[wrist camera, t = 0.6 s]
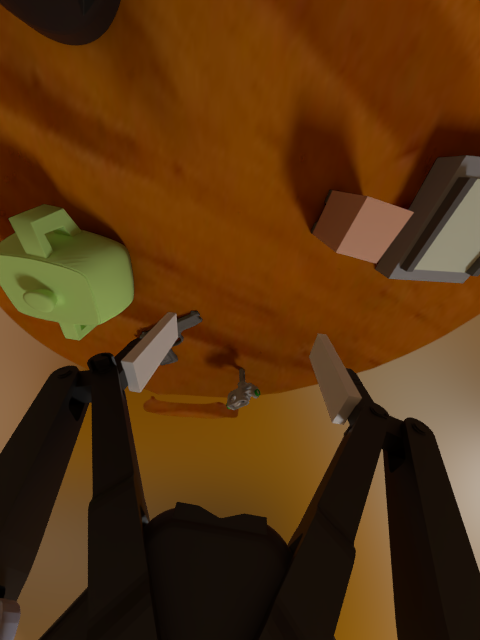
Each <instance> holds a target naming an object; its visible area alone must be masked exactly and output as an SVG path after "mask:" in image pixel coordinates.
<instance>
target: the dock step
mask: <svg viewBox="0 0 480 640" xmlns="http://www.w3.org/2000/svg"><path fill="white" fill-rule="evenodd" d="M409 211H412V212H414V213H413V214H412V216H411V217H410V219H409V220H408V221H407V223H406V224H405V225H404V227H403V228H402V229H401V231H400V232H399V233H398V235H397V236H396V238H395V239H394V240H393V242H392V243H391V244H390V246H389V247H388V248H387V250H386V251H385V253H384V254H383V256H382V258H381V259H380V261H379V263H378V265H377V267H376V268H375V269H376V270H377V271H378V272H380V273H381V274H383V275H384V276H386V277H387V278H389V279H404V280H420V281H437V282H453V283H464V282H465V280H466V279H467V278H468V277H469V276H470V275H471V276H478V275H479V274H480V157H476V156H467V155H466V156H453V157H440V158H437V160H436V161H435V163H434V165H433V167H432V169H431V170H430V172H429V174H428V176H427V177H426V179H425V181H424V183H423V185H422V186H421V188H420V190H419V192H418V193H417V195H416V197H415V199H414V201H413V202H412V204H411V206H410V208H409Z"/></svg>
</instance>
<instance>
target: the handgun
mask: <svg viewBox="0 0 480 640" xmlns="http://www.w3.org/2000/svg"><path fill="white" fill-rule="evenodd" d="M199 315H200V314H198V311H196V312H195V311H191V314H189V315H186V316H184V317H182V318H179V319H177V328H178V337H179V338H180V339H181V340H180V341H178V342H175V343H174V344H173V346H176V345H178V344H180V343H181V342H182V341H183V336H182V335H181V332H182V331H183V330H185V329H187V328H190V327H192V326H195V325H197V324H198V323H200V322H202V320H203V319H202V318H201V317H199ZM148 332H149V331H148ZM148 332H144V331H143V332H142V333H143V334H141V335H140V338H142V339H143V338H144V337H145V336H146V335H147V333H148ZM173 346H172V347H173ZM176 361H178V358H177V356H176V355H175V354H174V352H173V351H172V349H170V350H169V351H168V353H167V354H166V356H165V357H164V359H163V360H162V362H161V363H160V365H165V364H170V363H173V362H176Z"/></svg>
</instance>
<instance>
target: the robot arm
mask: <svg viewBox="0 0 480 640" xmlns="http://www.w3.org/2000/svg"><path fill="white" fill-rule="evenodd" d="M0 4H1V5H2V6H4V7H5V8H6V9H7V10H8V11H10V12H11V13H12V14H14V15H15V16H16V17H18V18H19V19H20V20H22V21H23V22H25V23H26V24H27V25H29V26H30V27H32V28H33V29H35V30H36V31H38V32H39V33H41V34H42V35H44V36H46V37H48V38H50V39H52V40H54V41H57V42H60V43H63V44H68V45H83V44H87V43H90V42H92V41H94V40H96V39H98V38H99V37H100V36H101V35H102V34H103V33H104V32H105V31H106V30H107V29H108V27H109V26H110V24H111V23H112V21H113V19H114V17H115V15H116V12H117V10H118V7H119V4H120V0H0ZM177 338H178V328H177V315H176V313H171V312H168V313H167V314H166V315H165V316H164V317H163V318H162V319H161V320H160V321H159V322H158V323H157V324H156V325H155V326H154V327H153V328H152V329H151V330H150V331H149V332H148V333H147V335H146V336H145V337H144V338H143V339H142V338H136V339H135V340H133V341H131V342H130V343H129V344H128V345H127V346H126V347H125V348H124V349H123V350H122V351H121V352H120V353H118V354H117V355H116V356H115V357H114V356H113V354H111V353H100V354H97V355H95V356H93V357H91V358H90V359H89V360H88V362H87V365H88V367H89V369H90V370H88V371H79V370H78V368H77V367H76V366H66V367H62V368H59V369H57V370H56V371H54V372H53V373H52V374H51V375H50V376H49V378H48V379H47V381H46V382H45V384H44V385H43V387H42V389H41V390H40V392H39V393H38V395H37V397H36V398H35V400H34V401H33V403H32V404H31V406H30V408H29V409H28V411H27V412H26V414H25V415H24V417H23V419H22V420H21V422H20V423H19V425H18V427H17V428H16V430H15V431H14V433H13V434H12V436H11V438H10V439H9V441H8V442H7V444H6V446H5V447H4V449H3V450H2V452H1V453H0V640H13V639H14V637H15V634H16V630H17V627H18V624H19V619H20V606H19V604H18V603H17V599H18V597H19V595H20V592H21V590H22V588H23V586H24V584H25V581H26V580H27V577H28V575H29V572H30V570H31V568H32V565H33V563H34V560H35V557H36V555H37V552H38V549H39V546H40V543H41V541H42V538H43V535H44V532H45V529H46V526H47V523H48V521H49V518H50V515H51V512H52V508H53V506H54V503H55V500H56V497H57V495H58V492H59V489H60V486H61V483H62V480H63V477H64V474H65V471H66V469H67V466H68V463H69V460H70V457H71V454H72V451H73V448H74V445H75V443H76V440H77V437H78V434H79V431H80V428H81V425H82V422H83V419H84V417H85V414H86V411H87V408H88V405H89V403H90V402H92V463H93V464H92V465H93V466H92V468H93V497H92V500H91V502H90V503H89V508H88V587H87V589H85V590H84V592H83V593H82V594H81V595H80V596H79V597H78V598H77V599H76V600H75V601H74V602H73V603H72V604H71V606H70V607H69V608H68V609H67V610H66V611H65V612H64V613H63V614H62V615H61V616H60V617H59V619H57V620H56V621H55V623H54V624H53V625H52V626H51V627H50V628H49V629H48V630H47V631H46V632H45V633H44V634H43V635H42V637H40V639H39V640H336V639H335V637H334V633H335V630H336V626H337V622H338V618H339V615H340V611H341V608H342V604H343V600H344V597H345V593H346V590H347V586H348V582H349V579H350V575H351V571H352V568H353V564H354V560H355V553H356V550H355V548H354V540H355V536H356V533H357V530H358V526H359V523H360V519H361V516H362V512H363V509H364V506H365V502H366V499H367V496H368V492H369V489H370V485H371V482H372V478H373V475H374V472H375V469H376V465H377V462H378V458H379V455H380V452H381V449H383V457H384V471H385V484H386V498H387V511H388V524H389V538H390V551H391V565H392V578H393V591H394V605H395V619H396V628H397V637H398V640H480V572H479V569H478V566H477V563H476V560H475V557H474V554H473V551H472V548H471V545H470V542H469V539H468V536H467V533H466V530H465V527H464V524H463V521H462V518H461V515H460V511H459V508H458V505H457V502H456V499H455V497H454V493H453V490H452V487H451V484H450V481H449V478H448V475H447V472H446V469H445V466H444V463H443V460H442V457H441V454H440V451H439V448H438V445H437V442H436V439H435V436H434V434H433V432H432V431H431V430H430V429H429V427H428V426H426V425H425V424H424V423H422V422H421V421H419V420H417V419H414V418H406V419H405V420H404V421H401V420H399V419H396V418H394V417H391V416H389V414H388V412H387V411H386V410H385V409H384V408H382V407H381V406H380V405H378V404H376V403H374V402H373V400H372V399H371V397H370V395H369V394H368V392H367V390H366V389H365V387H364V386H363V384H362V382H361V381H360V379H359V377H358V376H357V374H356V373H355V372H354V371H353V370H351V369H348V368H345V367H344V365H343V363H342V361H341V360H340V358H339V356H338V354H337V352H336V351H335V349H334V347H333V345H332V343H331V342H330V340H329V338H328V336H327V335H325V334H318V335H317V338H316V340H315V343H314V345H313V348H312V350H311V353H310V355H309V358H310V361H311V364H312V366H313V369H314V372H315V375H316V378H317V381H318V384H319V387H320V389H321V392H322V395H323V398H324V401H325V404H326V406H327V410H328V412H329V415H330V418H331V421H332V423H337V424H343V425H344V423H345V422H346V420H347V419H348V421H349V424H350V426H349V427H348V429H347V430H346V432H345V433H344V437H343V439H342V441H341V443H340V445H339V447H338V449H337V451H336V453H335V455H334V457H333V459H332V461H331V463H330V465H329V467H328V469H327V471H326V473H325V475H324V477H323V479H322V481H321V483H320V485H319V486H318V488H317V490H316V492H315V494H314V497H313V498H312V500H311V502H310V504H309V506H308V508H307V510H306V512H305V514H304V516H303V518H302V520H301V522H300V524H299V526H298V528H297V529H296V531H295V532H294V534H293V536H292V538H291V539H290V541H289V543H288V545H287V544H286V542H285V541H284V540H283V538H282V537H281V536H280V535H279V534H278V533H277V532H276V531H275V530H274V529H273V528H271V527H270V526H268V525H267V518H266V517H260V516H254V515H249V514H241V515H235V516H230V517H225V518H219V517H217V516H215V515H213V514H212V513H210V512H208V511H207V510H205V509H203V508H202V507H200V506H197V505H192V504H186V503H181V502H177V503H176V507H175V508H174V509H170V510H167V511H165V512H163V513H161V514H159V515H157V516H156V517H155V518H153V519H152V520H151V521H150V520H149V515H148V510H147V506H146V502H145V499H144V493H143V488H142V482H141V477H140V472H139V466H138V460H137V455H136V450H135V444H134V439H133V434H132V429H131V422H130V417H129V411H128V406H127V400H126V395H125V391H124V389H125V388H126V387H127V386H128V387H129V390H130V391H134V392H141V391H142V389H143V388H144V387H145V385H146V384H147V382H148V381H149V379H150V378H151V376H152V375H153V373H154V372H155V371H156V369H157V368H158V366H159V365H160V363H161V362H162V360H163V359H164V357H165V356H166V354H167V353H168V351H169V350H170V349H171V347H172V346H173V344H174V343H175V341H176V340H177Z"/></svg>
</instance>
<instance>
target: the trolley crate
mask: <svg viewBox="0 0 480 640" xmlns="http://www.w3.org/2000/svg"><path fill="white" fill-rule="evenodd" d="M324 202H325V203H326V206H325V208H324V210H323V212H322V214H321V216H320V218H319V221H318V223H317V222H315V223H314V226H313V228H312V230H311V233H312V234H313V235H314V236H316V237H317V238H318V239H320V240H321V241H322V242H323V243H325V244H326V245H327V246H328V247H330V248H331V249H332V250H333V251H335V252H336V253H340V254H343V255H347V256H351V257H354V258H358V259H362V260H365V261H369V262H373V263H377V262H378V261H379V259H380V258H381V257H382V255H383V254H384V253H385V251H386V250H387V248H388V247H389V246H390V244H391V243H392V242H393V240H394V239H395V238H396V236H397V235H398V233H399V232H400V231H401V229H402V228H403V227H404V225H405V224H406V223H407V221H408V220H409V219H410V217H411V216H412V214H413V213H414V212H412V211H409V210H406V209H403V208H400V207H398V206H395V205H392V204H389V203H386V202H383V201H380V200H377V199H374V198H371V197H368V196H363V195H357V194H351V193H346V192H340V191H334V190H329V193H328V195H327V197H326V199H325V201H324Z"/></svg>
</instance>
